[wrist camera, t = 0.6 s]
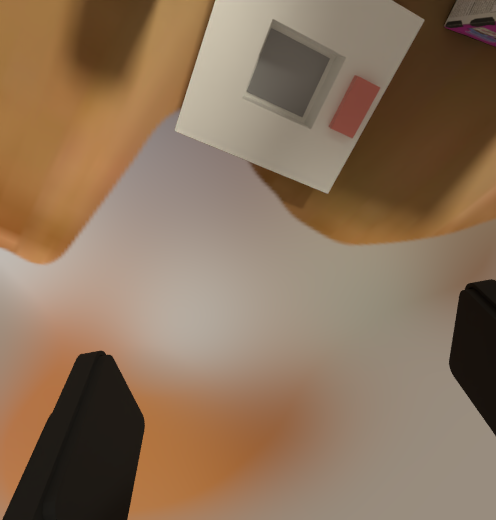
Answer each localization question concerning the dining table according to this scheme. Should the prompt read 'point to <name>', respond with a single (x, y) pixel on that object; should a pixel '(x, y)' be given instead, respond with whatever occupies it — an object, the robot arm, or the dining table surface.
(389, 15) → the socket plate
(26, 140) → the dining table surface
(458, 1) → the candy bar box
